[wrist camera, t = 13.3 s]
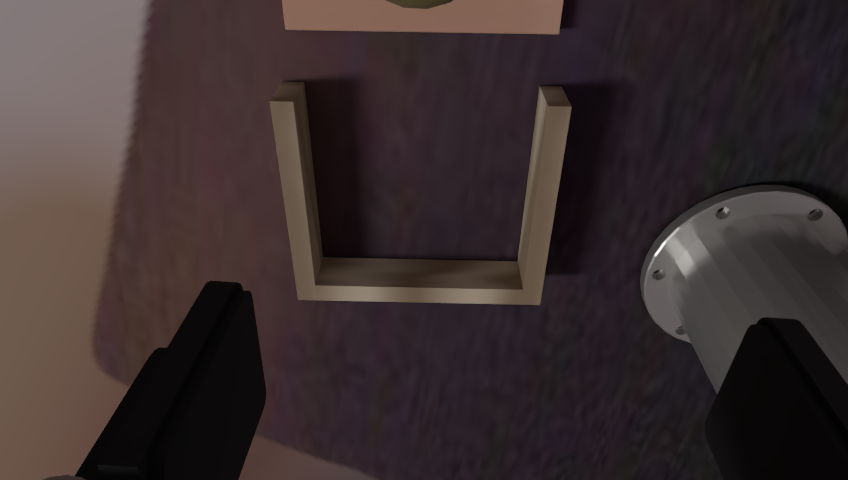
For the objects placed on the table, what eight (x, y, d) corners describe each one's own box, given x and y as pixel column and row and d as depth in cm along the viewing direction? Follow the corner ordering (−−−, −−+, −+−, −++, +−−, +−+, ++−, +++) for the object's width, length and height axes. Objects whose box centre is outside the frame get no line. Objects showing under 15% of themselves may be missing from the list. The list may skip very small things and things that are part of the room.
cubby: (561, 86, 32) (571, 106, 30) (533, 275, 40) (539, 304, 37) (282, 81, 32) (269, 101, 30) (306, 271, 40) (298, 299, 37)
